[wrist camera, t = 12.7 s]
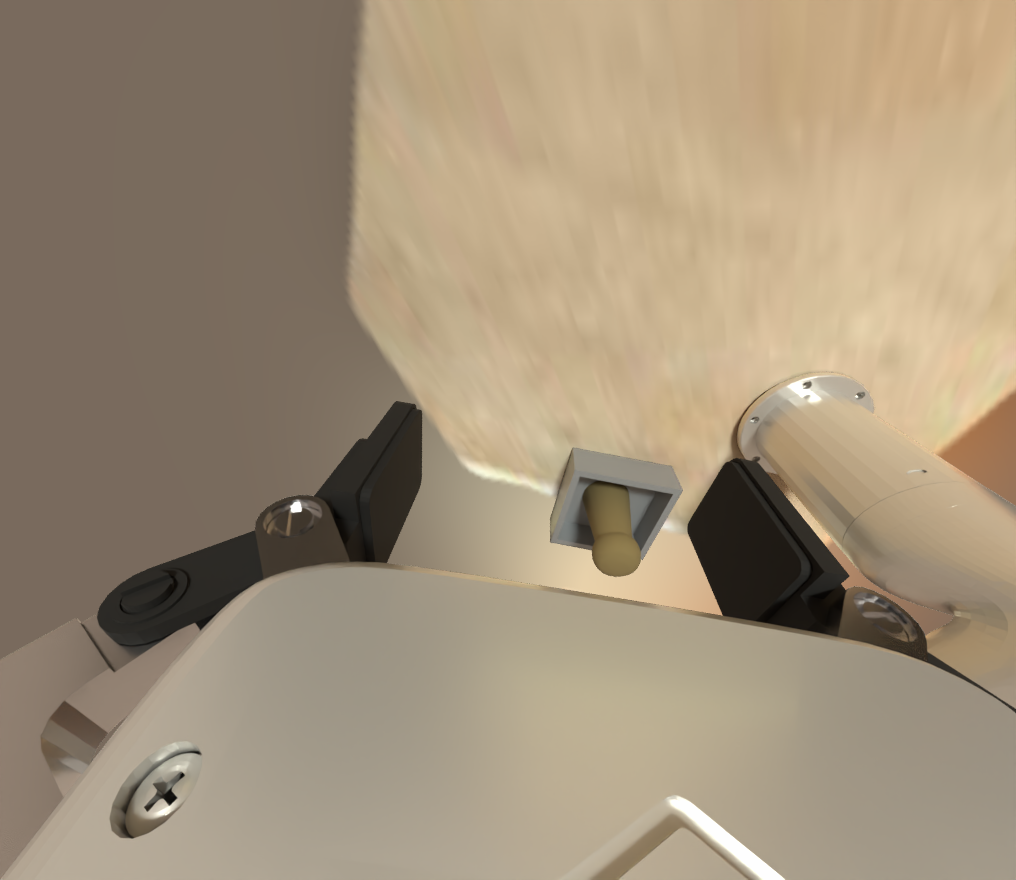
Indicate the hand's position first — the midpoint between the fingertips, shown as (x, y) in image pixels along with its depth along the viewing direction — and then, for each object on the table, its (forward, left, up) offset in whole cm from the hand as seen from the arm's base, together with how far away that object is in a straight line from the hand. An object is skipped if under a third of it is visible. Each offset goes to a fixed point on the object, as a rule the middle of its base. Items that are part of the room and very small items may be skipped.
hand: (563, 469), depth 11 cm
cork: (-12, +24, -28) cm, 39 cm away
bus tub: (-13, +24, -29) cm, 39 cm away
